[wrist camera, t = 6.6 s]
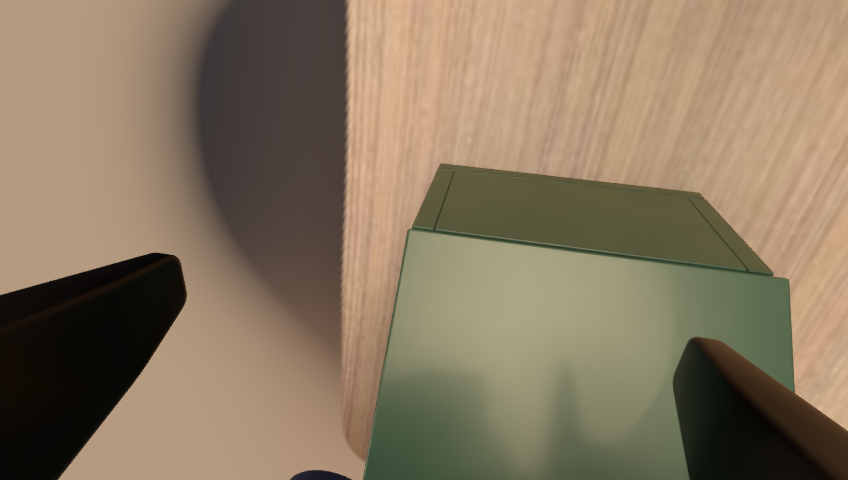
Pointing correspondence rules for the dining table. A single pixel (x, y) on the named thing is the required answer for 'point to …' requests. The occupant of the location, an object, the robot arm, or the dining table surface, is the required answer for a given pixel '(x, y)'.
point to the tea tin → (584, 218)
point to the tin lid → (553, 360)
